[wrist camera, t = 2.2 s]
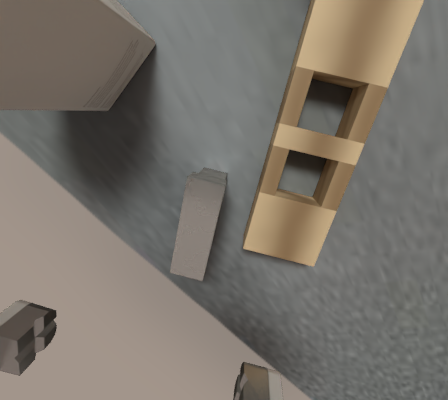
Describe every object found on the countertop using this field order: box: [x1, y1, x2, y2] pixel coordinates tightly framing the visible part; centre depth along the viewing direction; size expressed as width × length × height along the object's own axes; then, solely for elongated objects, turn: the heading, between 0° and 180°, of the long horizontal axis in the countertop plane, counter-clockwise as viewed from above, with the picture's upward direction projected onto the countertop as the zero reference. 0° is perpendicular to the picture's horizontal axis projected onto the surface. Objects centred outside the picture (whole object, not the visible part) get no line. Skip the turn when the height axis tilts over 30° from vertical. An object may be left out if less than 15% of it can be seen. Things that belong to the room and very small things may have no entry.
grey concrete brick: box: [170, 167, 227, 281], centre depth 23 cm, size 3×9×6 cm, turn 167°
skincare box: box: [0, 0, 155, 111], centre depth 15 cm, size 8×7×16 cm
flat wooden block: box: [243, 0, 424, 267], centre depth 21 cm, size 7×22×3 cm, turn 167°
